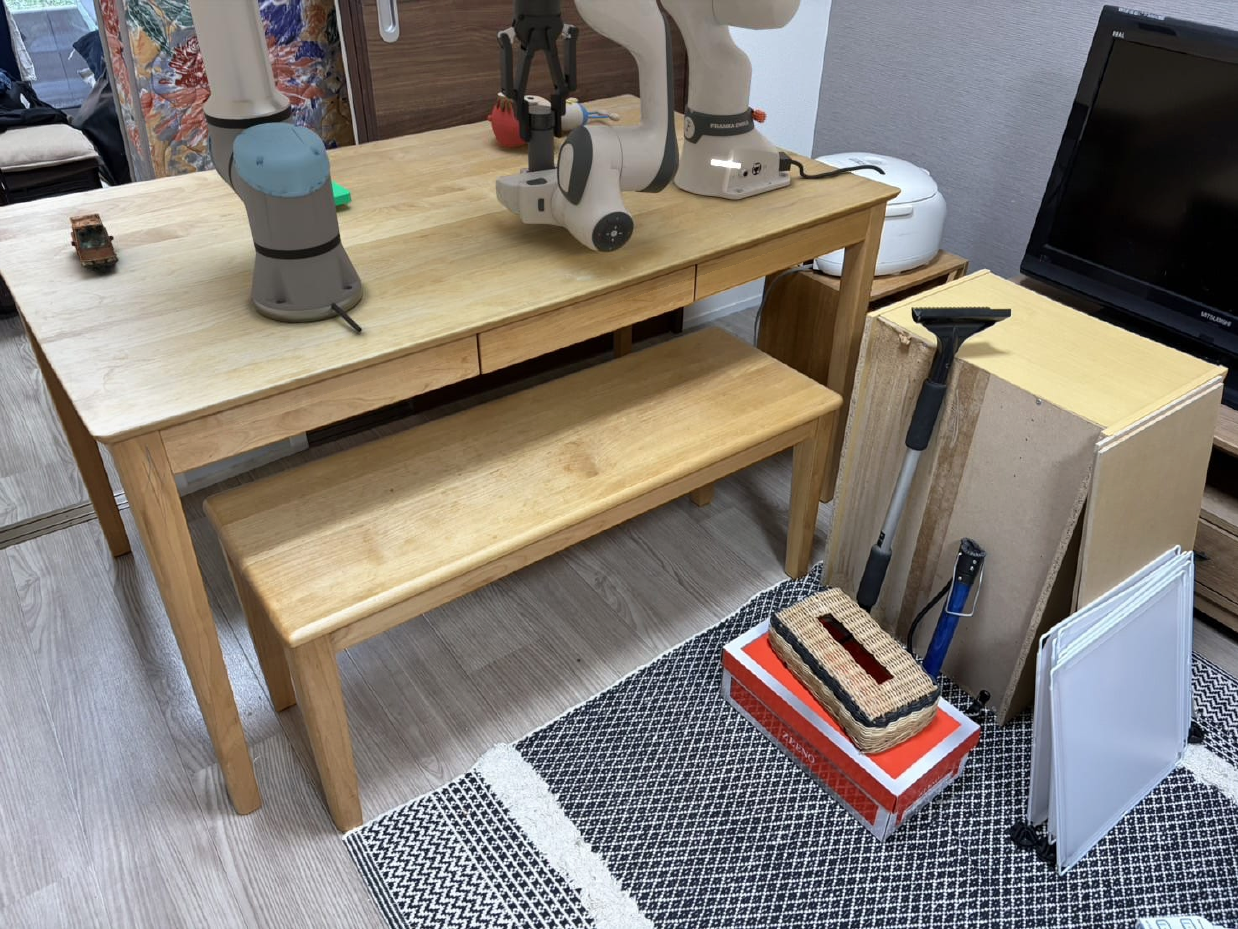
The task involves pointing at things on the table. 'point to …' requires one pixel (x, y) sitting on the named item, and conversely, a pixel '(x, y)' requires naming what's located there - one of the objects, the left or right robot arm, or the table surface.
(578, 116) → the toy
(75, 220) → the toy car
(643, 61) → the right robot arm
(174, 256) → the table surface
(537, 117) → the lid
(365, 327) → the table surface
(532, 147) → the dark grey cylinder
